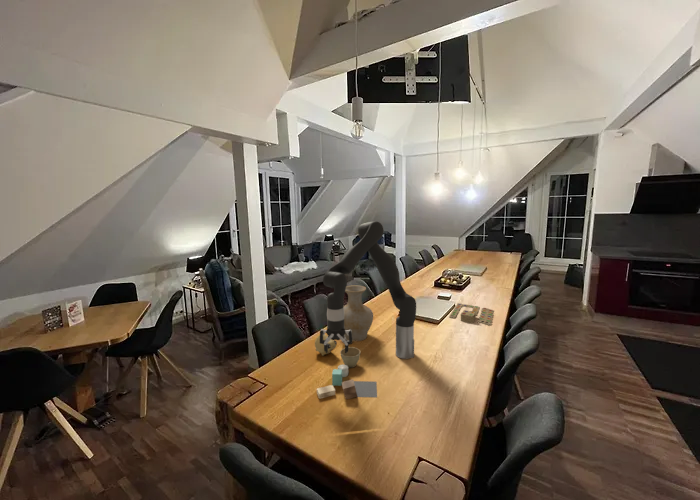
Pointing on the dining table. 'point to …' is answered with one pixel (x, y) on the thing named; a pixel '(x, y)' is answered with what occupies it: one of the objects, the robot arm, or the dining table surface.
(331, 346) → the toy pig
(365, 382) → the felt mat
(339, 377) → the teal block
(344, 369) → the grey cylinder
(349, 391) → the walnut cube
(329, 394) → the beech slab
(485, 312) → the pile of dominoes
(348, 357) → the flower pot
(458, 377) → the dining table surface
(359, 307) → the vase
